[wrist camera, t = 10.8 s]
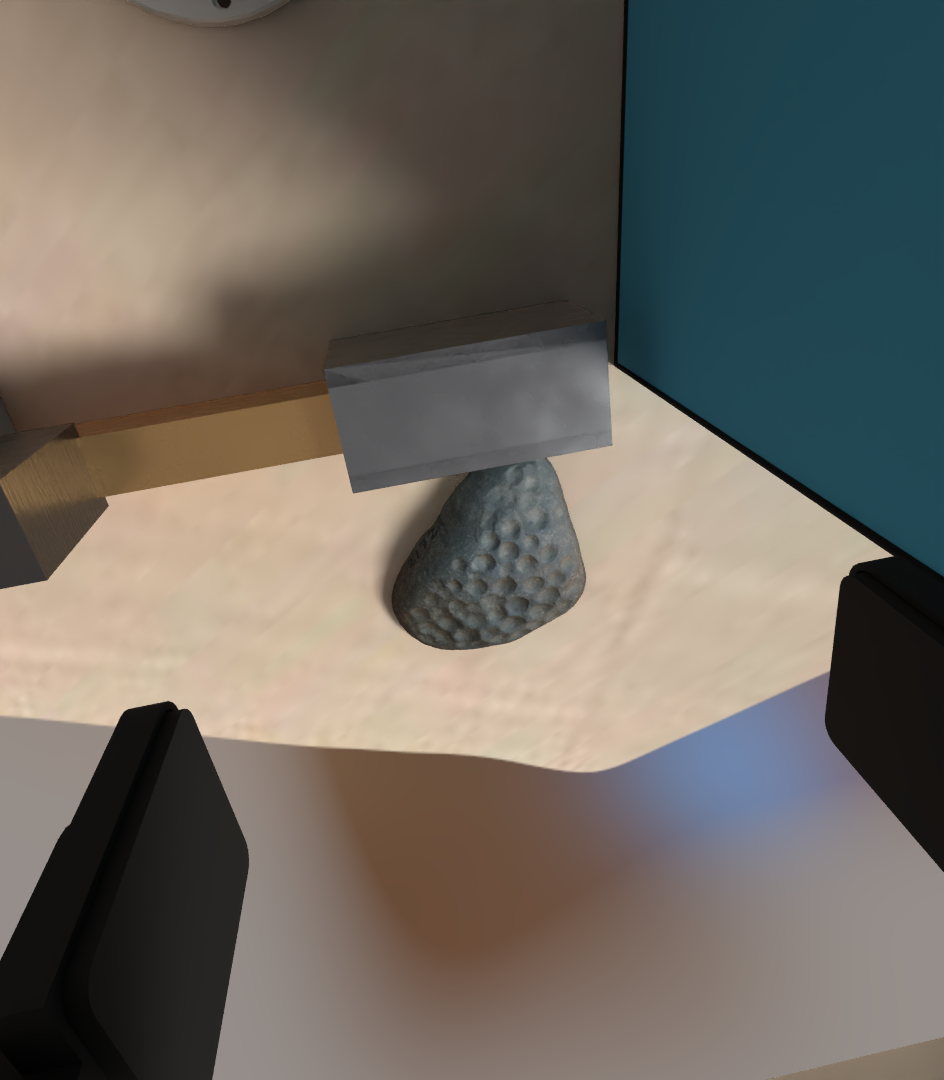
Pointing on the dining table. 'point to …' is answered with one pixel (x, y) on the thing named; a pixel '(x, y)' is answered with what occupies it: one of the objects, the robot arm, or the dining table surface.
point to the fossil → (492, 561)
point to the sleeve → (470, 393)
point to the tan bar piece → (142, 464)
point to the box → (793, 244)
